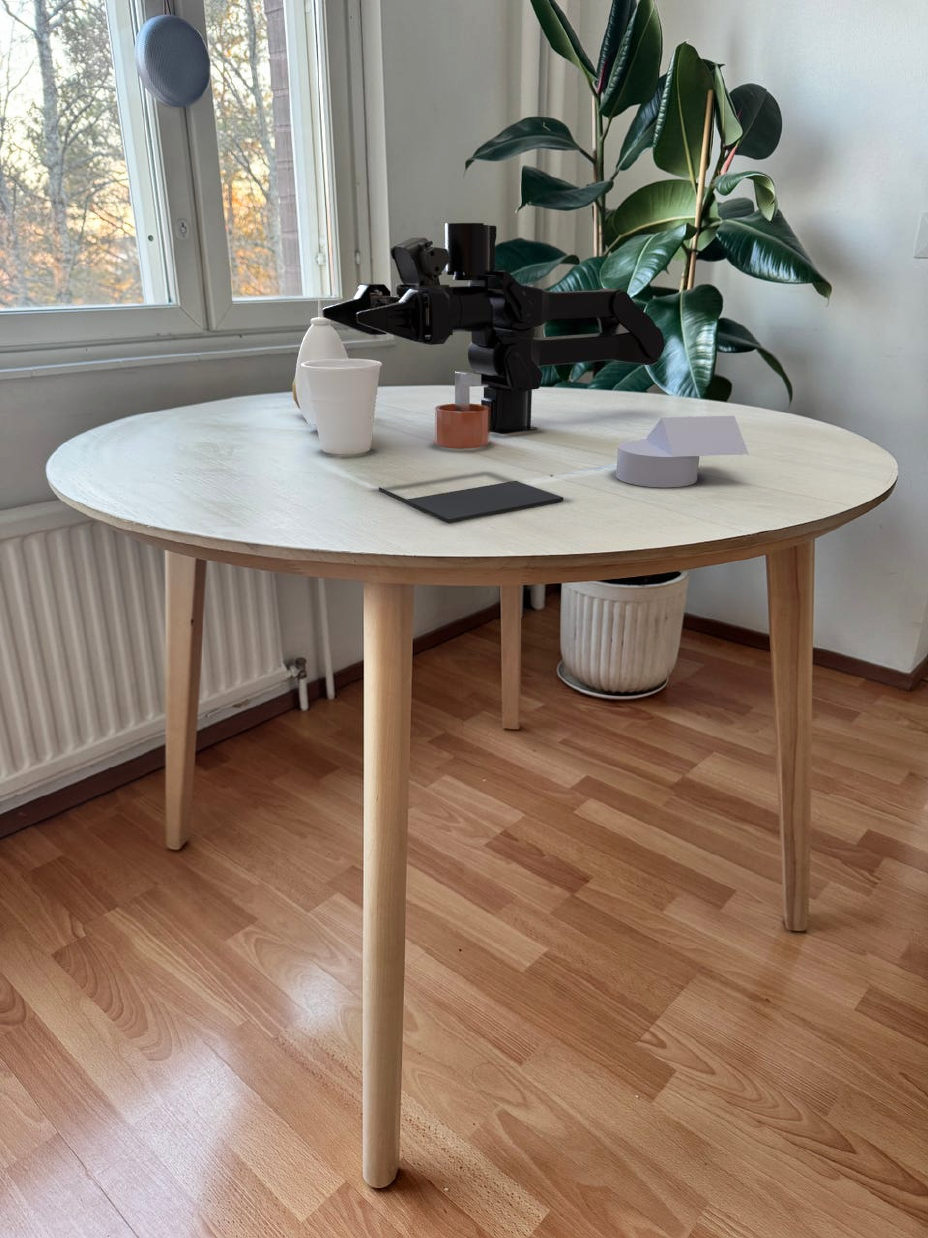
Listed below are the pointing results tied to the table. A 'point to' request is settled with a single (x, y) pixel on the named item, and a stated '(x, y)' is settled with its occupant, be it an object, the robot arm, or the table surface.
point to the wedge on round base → (677, 450)
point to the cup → (343, 402)
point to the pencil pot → (462, 426)
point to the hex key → (464, 389)
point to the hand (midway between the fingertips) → (339, 315)
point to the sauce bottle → (316, 357)
